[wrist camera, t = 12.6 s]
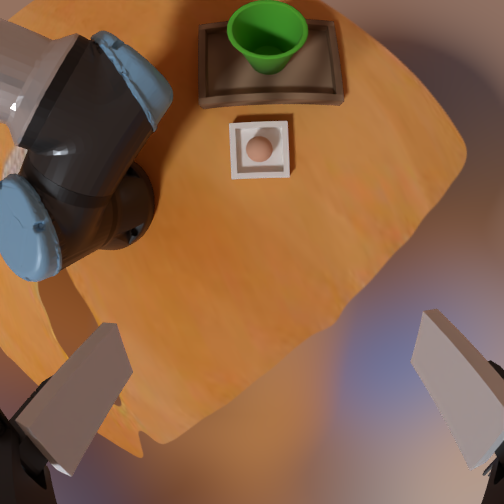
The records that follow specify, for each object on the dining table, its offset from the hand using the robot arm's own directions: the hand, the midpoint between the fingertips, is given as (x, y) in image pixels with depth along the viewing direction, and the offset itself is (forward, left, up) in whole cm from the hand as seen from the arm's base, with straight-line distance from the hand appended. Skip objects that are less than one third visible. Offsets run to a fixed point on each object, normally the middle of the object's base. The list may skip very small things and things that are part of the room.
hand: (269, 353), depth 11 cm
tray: (+1, +24, -32) cm, 40 cm away
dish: (-1, +10, -32) cm, 33 cm away
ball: (-1, +10, -31) cm, 33 cm away
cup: (+1, +24, -31) cm, 39 cm away
